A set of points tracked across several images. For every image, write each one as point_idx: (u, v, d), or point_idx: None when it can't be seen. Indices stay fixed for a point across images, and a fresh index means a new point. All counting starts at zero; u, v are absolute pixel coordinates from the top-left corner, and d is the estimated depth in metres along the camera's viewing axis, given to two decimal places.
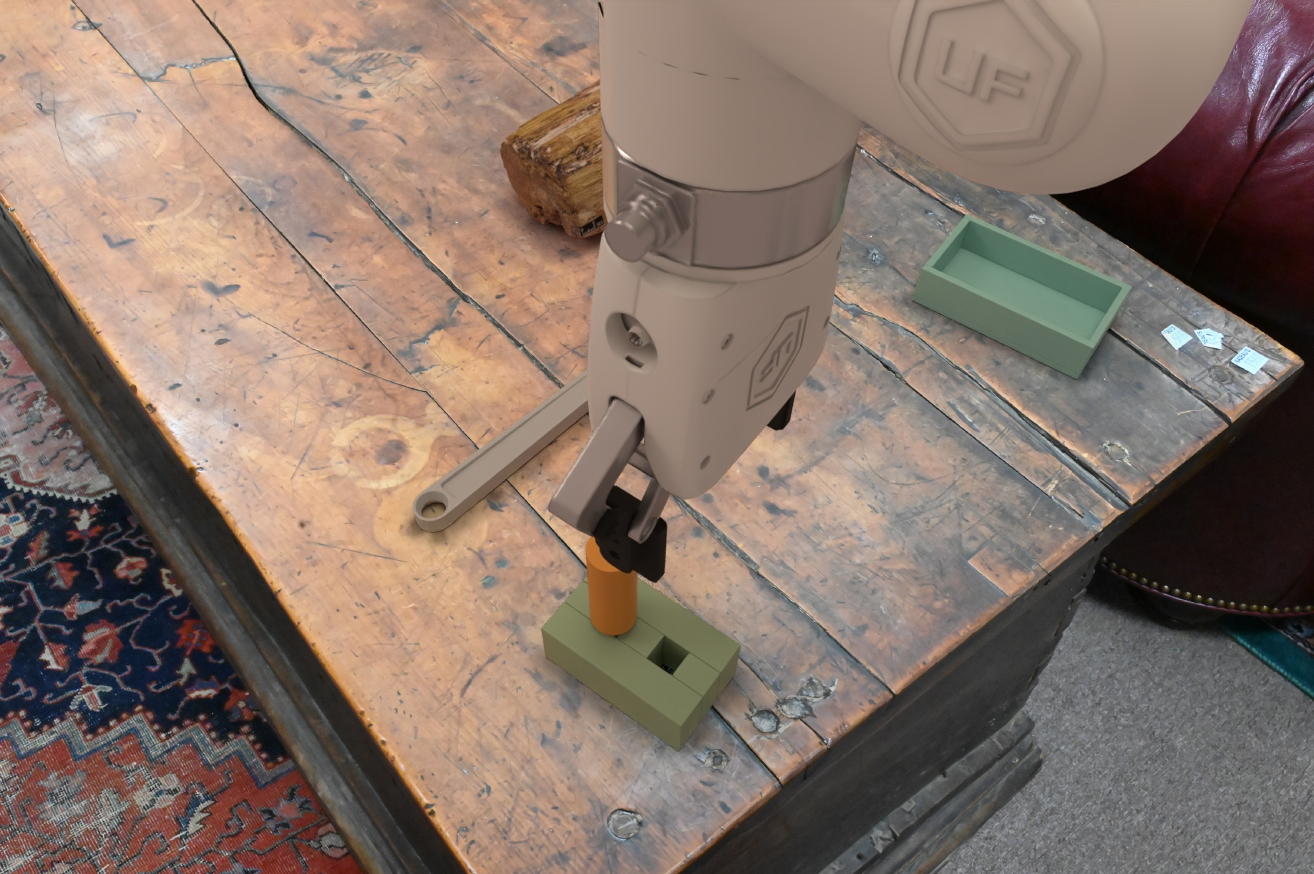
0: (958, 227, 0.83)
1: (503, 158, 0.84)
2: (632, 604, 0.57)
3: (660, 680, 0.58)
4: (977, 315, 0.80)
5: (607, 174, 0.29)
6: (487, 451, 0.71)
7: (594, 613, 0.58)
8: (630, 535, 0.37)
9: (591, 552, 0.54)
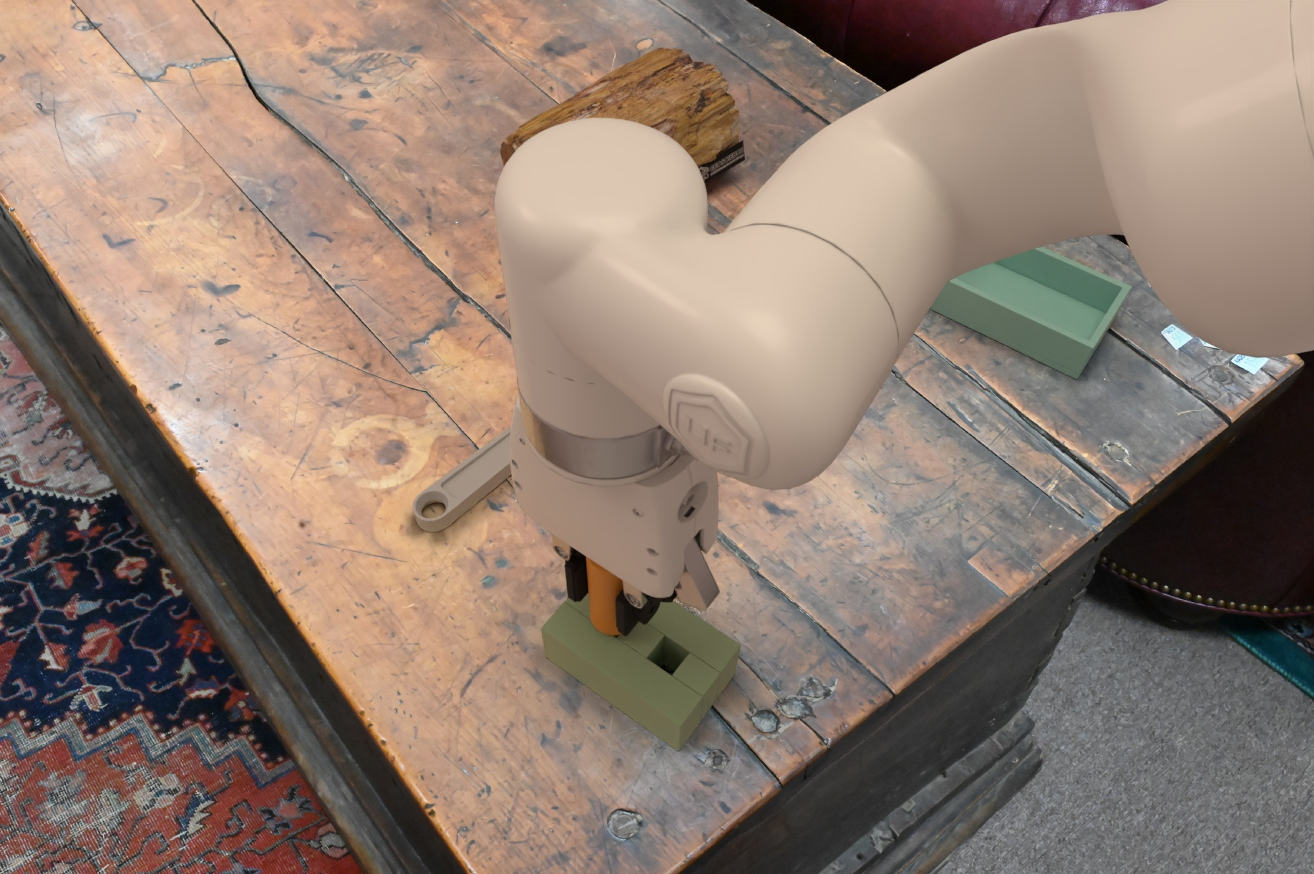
0: None
1: (503, 158, 0.84)
2: None
3: (660, 680, 0.58)
4: (977, 315, 0.80)
5: (633, 457, 0.41)
6: (487, 451, 0.71)
7: (594, 613, 0.58)
8: None
9: None
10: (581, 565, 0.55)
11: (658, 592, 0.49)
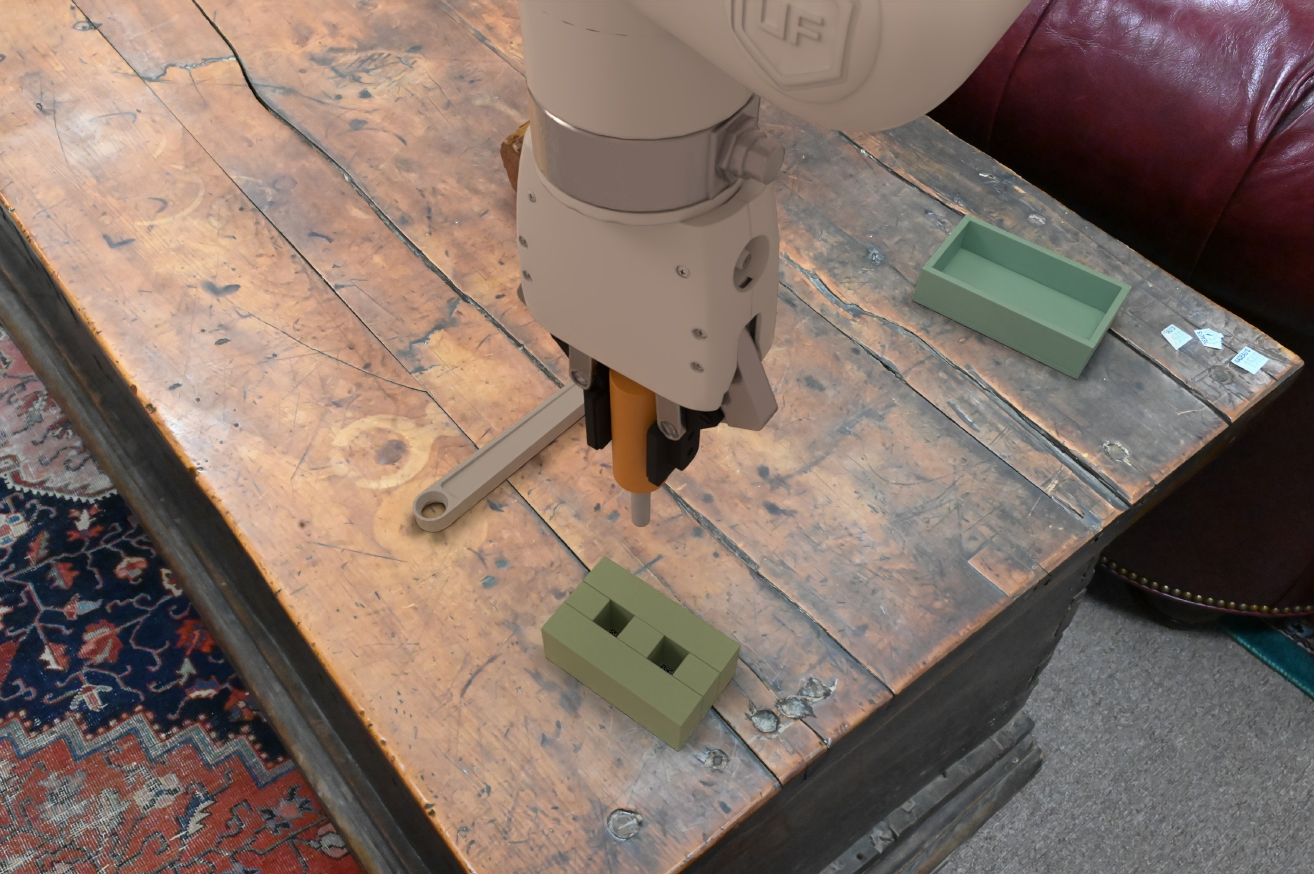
0: (958, 227, 0.83)
1: (503, 158, 0.84)
2: None
3: (660, 680, 0.58)
4: (977, 315, 0.80)
5: (679, 177, 0.32)
6: (487, 451, 0.71)
7: (619, 464, 0.48)
8: None
9: (616, 375, 0.44)
10: (604, 396, 0.46)
11: (703, 400, 0.39)
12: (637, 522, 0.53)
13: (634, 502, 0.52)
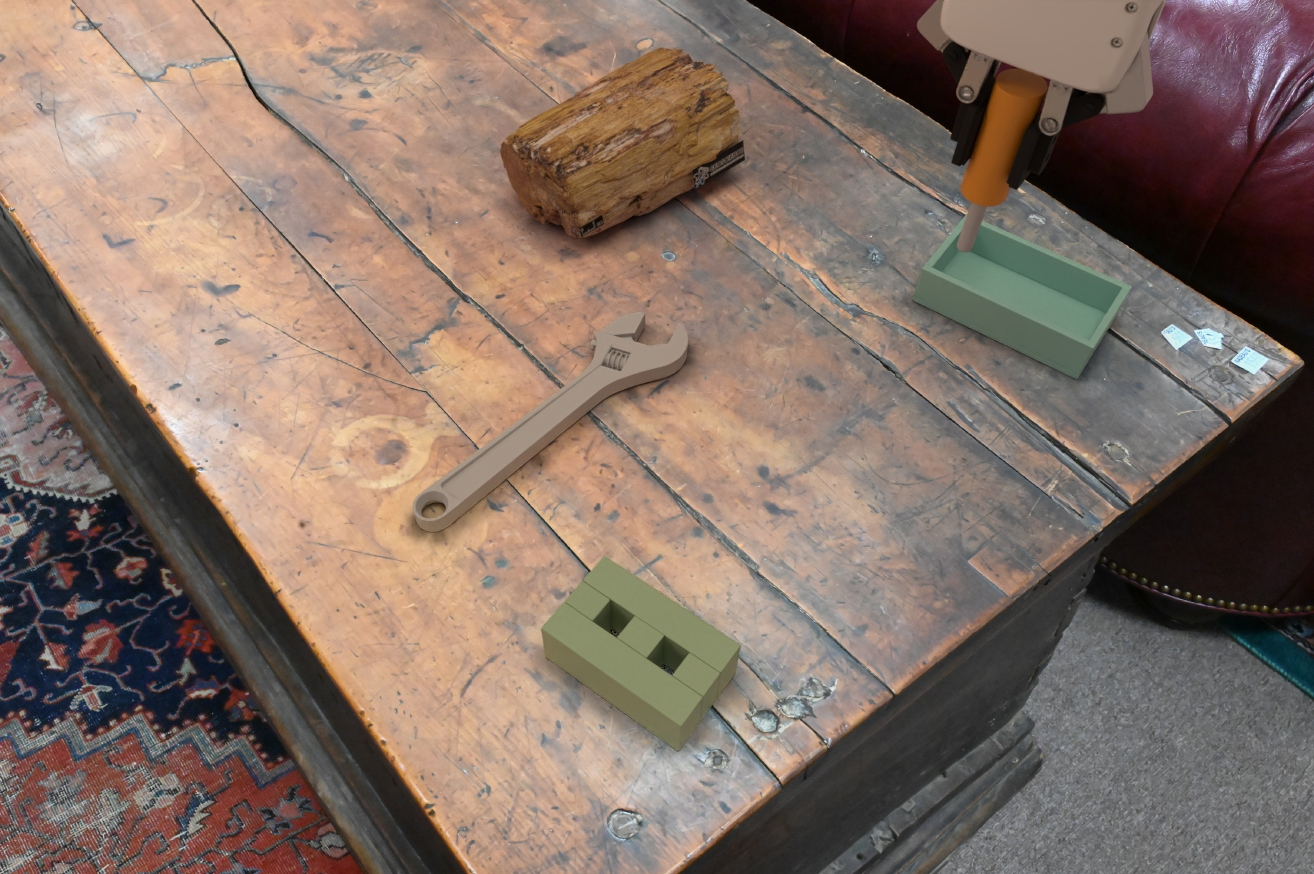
0: (958, 227, 0.83)
1: (503, 158, 0.84)
2: None
3: (660, 680, 0.58)
4: (977, 315, 0.80)
5: None
6: (487, 451, 0.71)
7: (978, 177, 0.59)
8: None
9: (1003, 85, 0.55)
10: (983, 109, 0.57)
11: (1110, 77, 0.50)
12: (965, 246, 0.64)
13: (969, 224, 0.63)
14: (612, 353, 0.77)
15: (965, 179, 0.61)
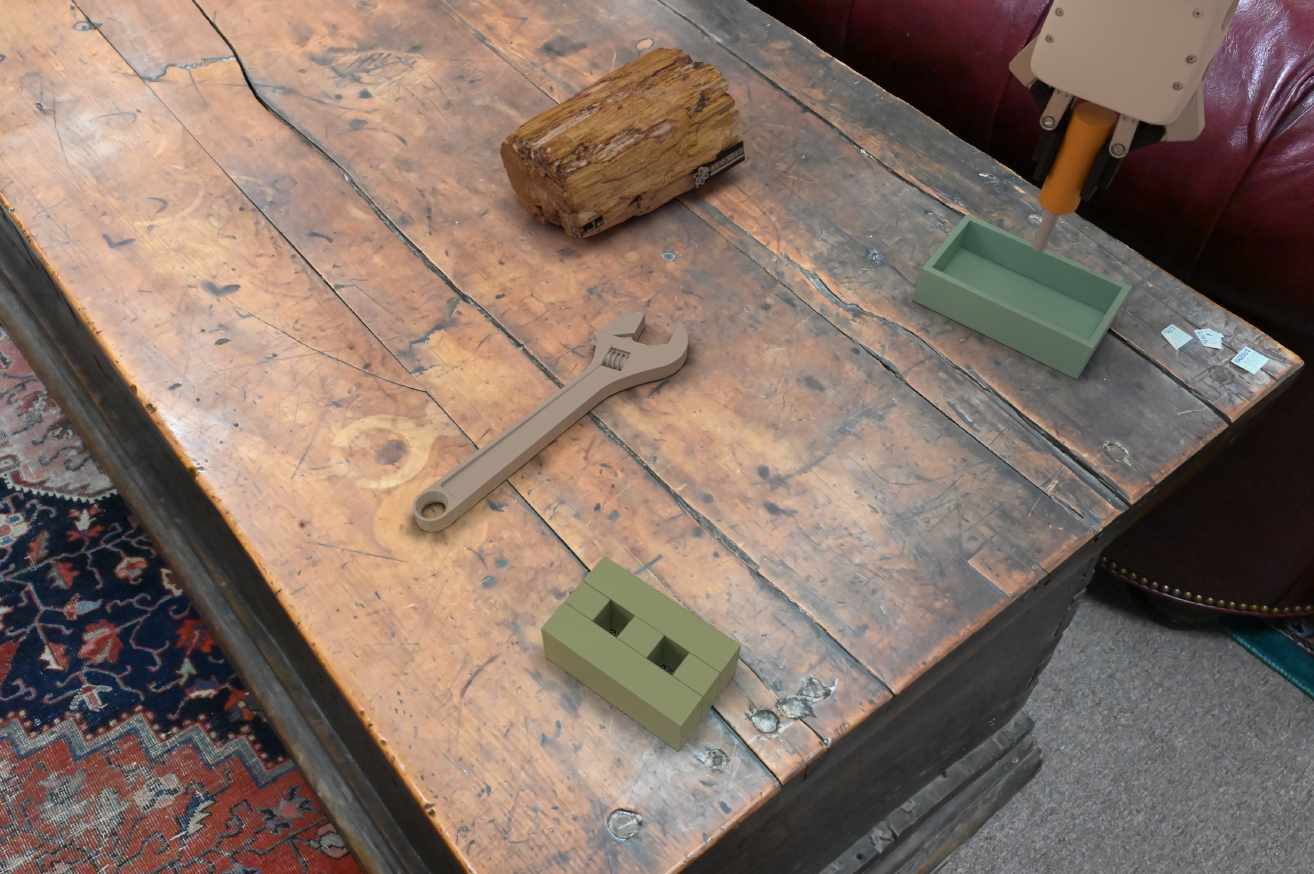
0: (958, 227, 0.83)
1: (503, 158, 0.84)
2: None
3: (660, 680, 0.58)
4: (977, 315, 0.80)
5: None
6: (487, 451, 0.71)
7: (1055, 190, 0.72)
8: None
9: (1080, 116, 0.68)
10: (1061, 135, 0.69)
11: (1171, 113, 0.63)
12: (1039, 247, 0.77)
13: (1044, 229, 0.75)
14: (612, 353, 0.77)
15: (1043, 191, 0.73)
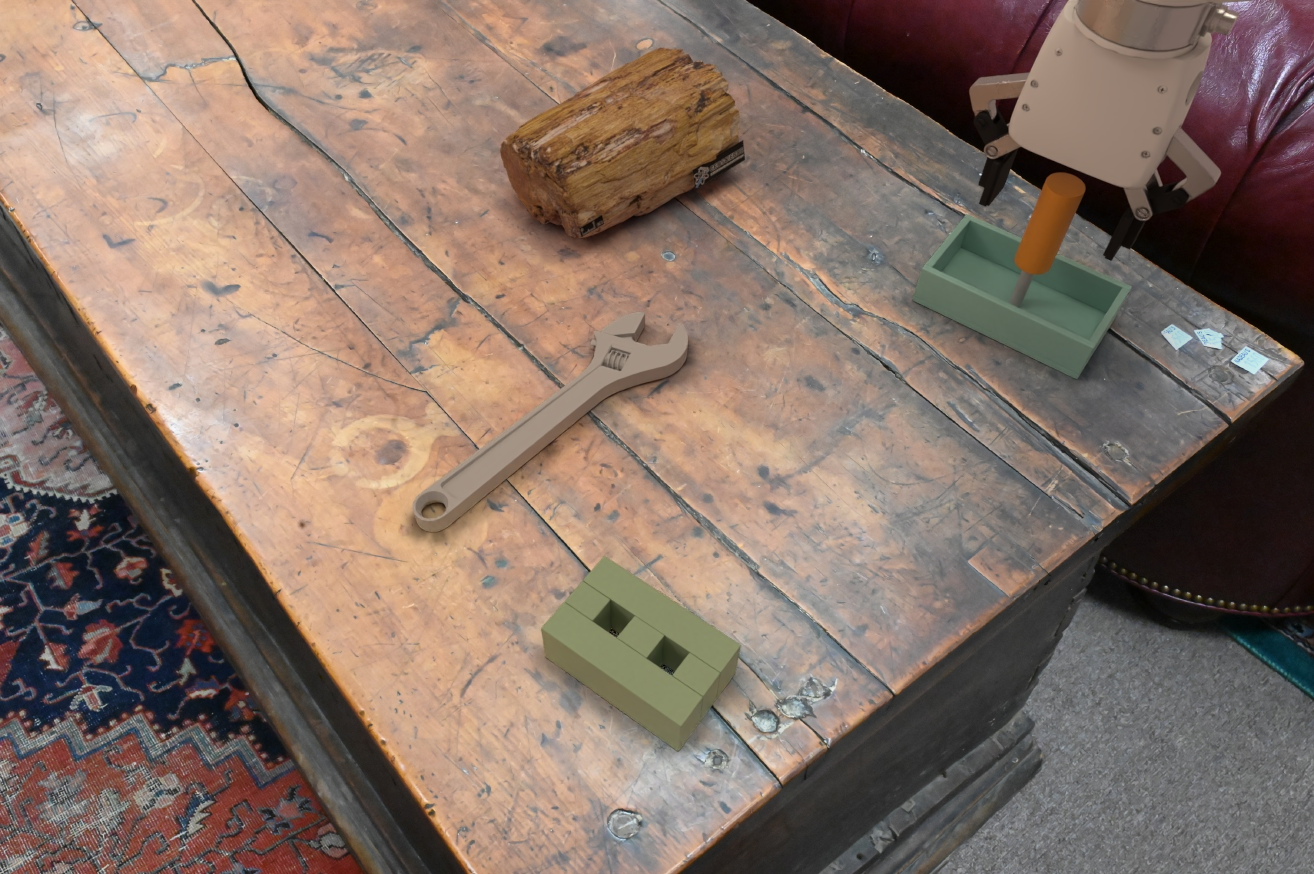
0: (958, 227, 0.83)
1: (503, 158, 0.84)
2: (1061, 242, 0.76)
3: (660, 680, 0.58)
4: (977, 315, 0.80)
5: (1184, 30, 0.59)
6: (487, 451, 0.71)
7: (1029, 252, 0.76)
8: None
9: (1051, 186, 0.72)
10: (1004, 163, 0.73)
11: (1140, 178, 0.66)
12: (1016, 302, 0.81)
13: (1020, 286, 0.80)
14: (612, 353, 0.77)
15: (1018, 253, 0.77)
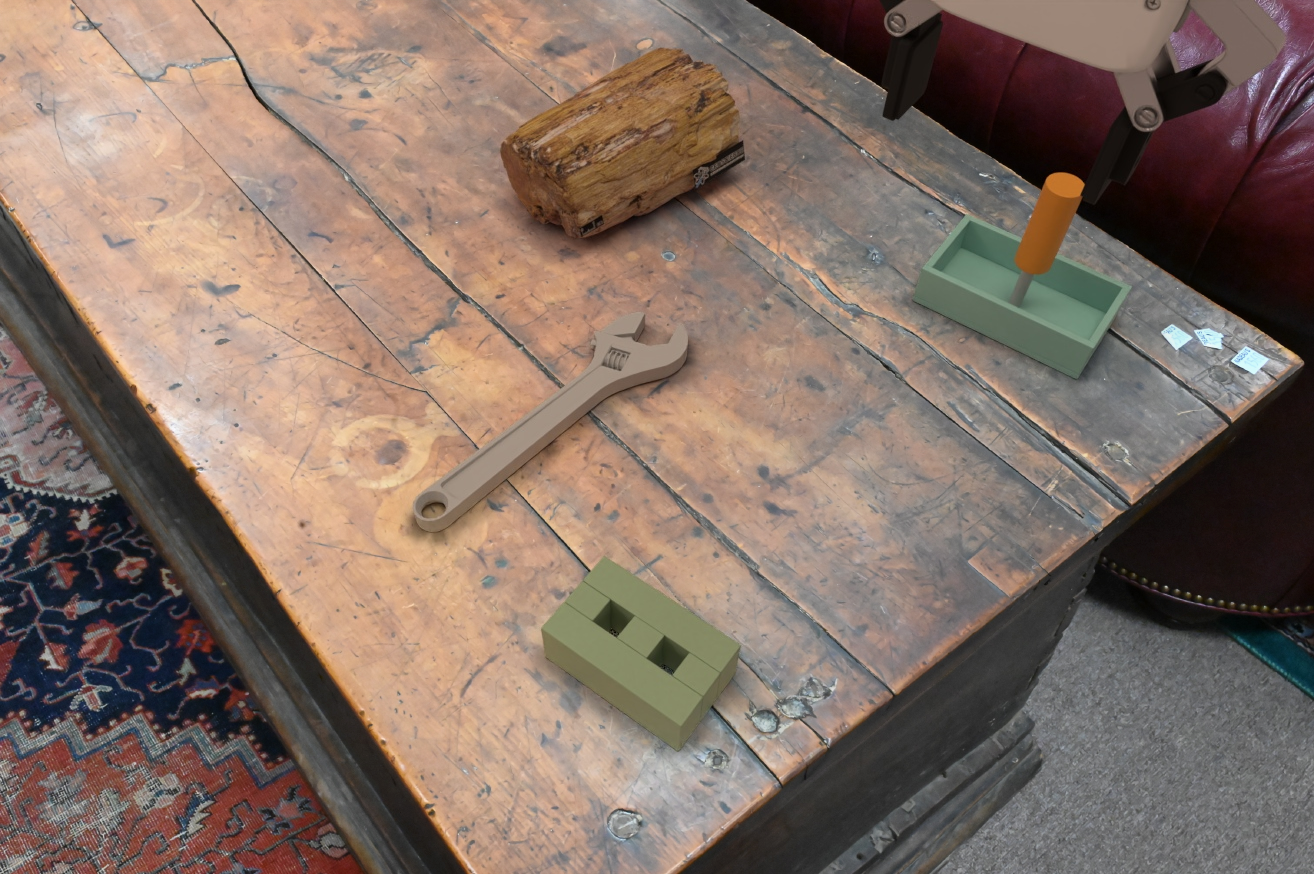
0: (958, 227, 0.83)
1: (503, 158, 0.84)
2: (1061, 242, 0.76)
3: (660, 680, 0.58)
4: (977, 315, 0.80)
5: None
6: (487, 451, 0.71)
7: (1029, 252, 0.76)
8: None
9: (1051, 186, 0.72)
10: (918, 45, 0.44)
11: (1142, 51, 0.38)
12: (1016, 302, 0.81)
13: (1020, 286, 0.80)
14: (612, 353, 0.77)
15: (1018, 253, 0.77)
